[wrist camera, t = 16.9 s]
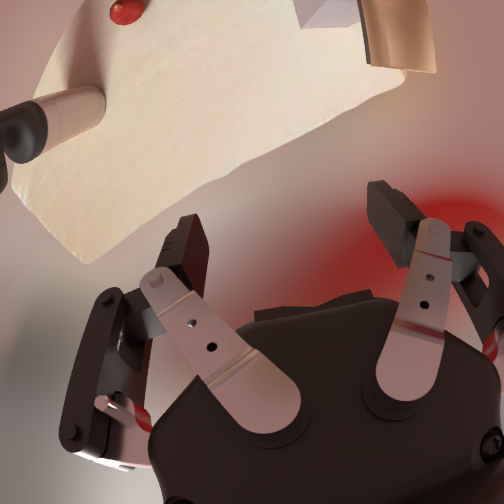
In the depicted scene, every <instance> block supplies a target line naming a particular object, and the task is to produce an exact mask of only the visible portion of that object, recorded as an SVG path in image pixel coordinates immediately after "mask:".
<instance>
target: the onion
mask: <svg viewBox="0 0 504 504" xmlns="http://www.w3.org/2000/svg"><path fill="white" fill-rule="evenodd" d="M143 10H144V3H143V1H142V0H117V1H116V2H115V3H114V4H113V5H112V7H111V8H110V18H111V20H112V21H113V22H114V23H116V24H119V25H128V24H131V23H133V22H135V21H137V20H138V19H139V18H140V17H141V15H142V13H143Z"/></svg>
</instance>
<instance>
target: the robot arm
mask: <svg viewBox="0 0 504 504" xmlns="http://www.w3.org/2000/svg"><path fill="white" fill-rule="evenodd" d="M105 109H106V102H105V97H104V95H103V93H102V92H101V90H100V89H98V88H97V87H95V86H91V85H88V86H82V87H77V88H72V89H68V90H64V91H60V92H56V93H52V94H49V95H45V96H42V97H39V98H36V99H32V100H29V101H26V102H23V103H20V104H18V105H15V106H13V107H10V108H8V109H5V110H3V111H0V194H1V193H2V191H3V190H4V188H5V187H6V185H7V182H8V173H7V166H6V162H5V155H4V152H5V153H6V155H7V156H8V157H9V158H10V159H11V160H12V161H14V162H15V163H19V164H23V163H27V162H29V161H31V160H33V159H34V158H36V157H38V156H39V155H41V154H43V153H44V152H46V151H48V150H50V149H51V148H53V147H55V146H57V145H59V144H61V143H62V142H64V141H66V140H68V139H70V138H72V137H74V136H76V135H78V134H80V133H83V132H85V131H87V130H89V129H91V128H93V127H95V126H96V125H98V124H99V123H100V121H101V120H102V118H103V116H104V113H105ZM367 216H368V220H369V223H370V224H371V226H372V227H373V229H374V231H375V232H376V234H377V235H378V237H379V238H380V240H381V241H382V243H383V244H384V246H385V248H386V249H387V251H388V253H389V254H390V256H391V258H392V259H393V261H394V262H395V264H396V266H397V268H398V269H399V268H403V267H408V268H409V272H408V275H407V279H406V283H405V286H404V290H403V293H402V297H401V300H400V303H398V302H396V301H394V300H390V299H386V298H378V297H373V295H372V292H371V290H370V289H368V290H364V291H359V292H355V293H350V294H345V295H342V296H340V297H337V298H335V299H333V300H330V301H328V302H326V303H324V304H321V305H319V306H316V307H289V306H288V307H286V306H282V307H277V308H271V309H265V310H259V311H254V318H255V320H253V321H251V322H249V323H247V324H245V325H243V326H241V327H240V328H238V329H237V330H236V331H234V330H233V329H232V328H231V327H230V326H229V325H228V324H227V323H226V322H224V320H223V319H222V318H220V317H219V316H218V314H217V313H216V312H215V311H213V309H212V308H211V307H209V305H208V304H207V303H206V302H205V301H204V300H203V295H204V287H205V280H206V273H207V265H208V259H209V245H208V241H207V238H206V235H205V233H204V230H203V227H202V225H201V222H200V219H199V217H198V215H197V214H192V215H187V216H183V217H181V218H180V220H179V223H178V226H177V228H176V229H173V230H172V231H171V232H170V233H169V234H168V235H167V236H166V238H165V241H164V245H163V246H162V249H161V252H160V255H159V257H158V260H157V263H156V266H155V269H153V270H151V271H149V272H148V273H147V274H145V276H144V277H143V278H142V279H141V281H140V287H139V288H137V289H136V290H133V291H131V292H128V293H126V294H123V292H122V291H121V289H120V288H117V287H112V288H109V289H107V290H105V291H103V292H102V293H101V294H100V295H99V296H98V297H97V299H96V301H95V303H94V306H93V308H92V311H91V314H90V316H89V319H88V322H87V325H86V328H85V331H84V334H83V337H82V340H81V343H80V346H79V349H78V352H77V356H76V359H75V362H74V366H73V370H72V373H71V377H70V381H69V385H68V389H67V393H66V397H65V402H64V406H63V411H62V416H61V422H60V427H59V439H60V442H61V445H62V446H63V448H64V449H66V450H67V451H69V452H70V453H73V454H75V455H78V456H80V457H83V458H85V459H88V460H91V461H93V462H96V463H99V464H102V465H105V466H108V467H111V468H115V469H118V470H122V471H131V470H133V469H135V467H140V468H147V469H153V470H154V472H155V474H156V477H157V479H158V482H159V484H160V488H161V491H162V496H163V504H504V436H503V433H502V429H501V421H500V400H501V397H502V396H504V246H503V245H502V244H501V242H500V241H499V240H498V239H497V237H496V236H495V235H494V234H493V233H492V232H491V230H490V229H489V228H488V227H487V226H485V225H484V224H482V223H480V222H476V221H469V222H467V223H466V225H465V228H464V232H459V231H450V228H449V227H448V225H447V224H445V223H444V222H442V221H440V220H438V219H433V218H427V217H426V216H425V215H424V214H423V213H422V212H421V211H420V210H419V209H418V208H417V207H416V206H415V205H414V204H413V202H411V201H410V200H409V198H408V197H407V196H406V195H405V194H404V193H402V192H400V191H398V190H396V189H392V188H391V187H390V186H389V185H388V184H387V183H386V182H385V181H384V180H379V181H372V182H369V183H368V186H367ZM481 266H482V267H483V268H484V270H485V272H486V273H487V275H488V278H489V287H488V288H487V287H486V285H485V283H484V282H483V280H482V278H481V277H480V275H479V274H478V272H479V270H480V267H481ZM451 283H452V284H453V286H454V288H455V290H456V291H457V293H458V295H459V297H460V299H461V301H462V303H463V304H464V306H465V308H466V310H467V312H468V314H469V316H470V318H471V320H472V322H473V324H474V327H475V328H476V331H477V333H478V335H479V337H480V339H481V342H482V344H483V348H482V353H481V352H480V351H478V350H476V349H475V348H473V347H472V346H470V345H469V344H467V343H465V342H464V341H462V340H461V339H459V338H457V337H456V336H454V335H452V334H451V333H449V332H448V331H446V330H445V329H444V328H445V324H446V317H447V311H448V304H449V296H450V288H451ZM166 332H168V334H169V335H170V336H171V338H172V339H173V341H174V342H175V344H176V345H177V347H178V348H179V349H180V351H181V352H182V353H183V355H184V356H185V358H186V359H187V360H188V362H189V363H190V364H191V366H192V367H193V368H194V370H195V371H196V372H197V375H196V376H195V378H194V379H193V380H192V381H191V382H190V384H189V385H188V386H187V387H186V388H185V389H184V391H183V392H182V393H181V394H180V395H179V396H178V398H177V399H176V400H175V401H174V402H173V403H172V405H171V406H170V407H169V408H168V409H167V410H166V412H165V413H164V414H163V415H162V416H161V417H160V418H159V420H158V421H157V422H156V423H155V425H154V426H153V427H152V425H151V417H150V414H149V413H148V411H147V410H146V409H144V400H145V391H146V382H147V375H148V368H149V360H150V354H151V347H152V341H153V338H154V337H156V336H159V335H161V334H164V333H166ZM119 339H120V340H121V342H120V346H119V350H117V345H118V341H119Z"/></svg>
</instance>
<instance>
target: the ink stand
mask: <svg viewBox="0 0 504 504" xmlns="http://www.w3.org/2000/svg"><path fill="white" fill-rule="evenodd" d="M293 3H294V7H295V10H296V14H297V17H298V21H299V25H300V29H311V28H333V27H348V26H350V25H353V24H355V23H357V22H359V21H361V19H360V14H359V9H358V4H357V0H293Z"/></svg>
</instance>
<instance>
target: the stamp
mask: <svg viewBox="0 0 504 504" xmlns="http://www.w3.org/2000/svg"><path fill="white" fill-rule="evenodd" d="M357 4H358V9H359V14H360V19H361V25H362V31H363V37H364V44H365V52H366V60H367V64H371V66H376V67H386V68H395V69H403V70H410V71H419V72H428V73H436V62H435V52H434V43H433V36H432V30H431V23H430V18H429V13H428V8H427V3H426V0H357Z"/></svg>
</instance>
